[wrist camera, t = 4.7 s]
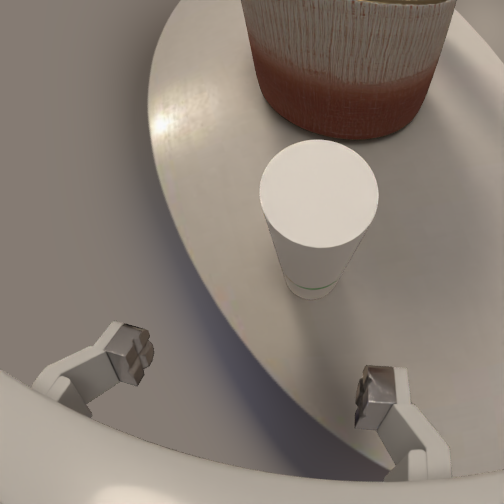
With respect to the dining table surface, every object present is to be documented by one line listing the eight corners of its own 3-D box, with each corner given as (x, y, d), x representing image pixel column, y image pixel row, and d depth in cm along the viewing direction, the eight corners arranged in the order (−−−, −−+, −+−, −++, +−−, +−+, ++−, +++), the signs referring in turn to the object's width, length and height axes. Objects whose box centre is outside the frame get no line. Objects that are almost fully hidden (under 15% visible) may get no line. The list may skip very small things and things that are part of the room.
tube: (273, 277, 26) (235, 201, 12) (306, 236, 26) (305, 122, 12) (316, 310, 25) (334, 273, 10) (348, 267, 25) (399, 180, 11)
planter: (261, 35, 34) (239, -70, 19) (400, 39, 31) (417, -62, 16) (255, 147, 29) (214, 7, 14) (437, 151, 26) (501, 31, 11)
